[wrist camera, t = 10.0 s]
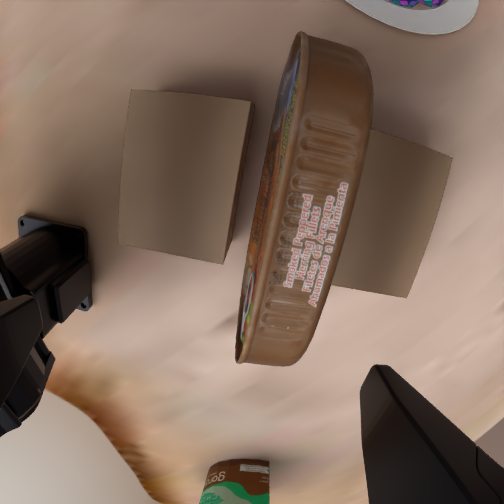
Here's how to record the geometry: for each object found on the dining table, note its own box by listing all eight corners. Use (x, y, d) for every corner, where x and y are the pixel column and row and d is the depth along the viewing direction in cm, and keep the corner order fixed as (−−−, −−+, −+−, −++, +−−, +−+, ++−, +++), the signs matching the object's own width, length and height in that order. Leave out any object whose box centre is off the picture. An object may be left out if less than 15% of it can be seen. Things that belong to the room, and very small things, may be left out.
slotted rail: (138, 225, 19) (117, 243, 16) (153, 94, 16) (131, 89, 13) (390, 274, 19) (406, 298, 16) (427, 151, 16) (452, 157, 13)
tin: (285, 54, 15) (294, -5, 7) (342, 67, 15) (397, 24, 7) (237, 300, 20) (217, 398, 13) (286, 309, 20) (288, 410, 13)
